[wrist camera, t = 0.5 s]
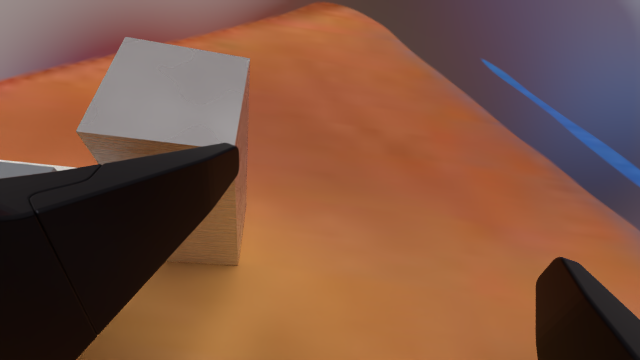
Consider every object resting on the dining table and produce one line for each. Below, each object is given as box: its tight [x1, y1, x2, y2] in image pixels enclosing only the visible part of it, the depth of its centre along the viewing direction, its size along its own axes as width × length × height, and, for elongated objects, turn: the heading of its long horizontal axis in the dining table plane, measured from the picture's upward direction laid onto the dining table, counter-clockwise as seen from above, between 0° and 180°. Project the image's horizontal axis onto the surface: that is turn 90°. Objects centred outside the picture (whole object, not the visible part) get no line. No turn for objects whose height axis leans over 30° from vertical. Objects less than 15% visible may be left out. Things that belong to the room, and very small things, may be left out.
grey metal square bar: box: [76, 37, 250, 265], centre depth 16 cm, size 4×4×13 cm
